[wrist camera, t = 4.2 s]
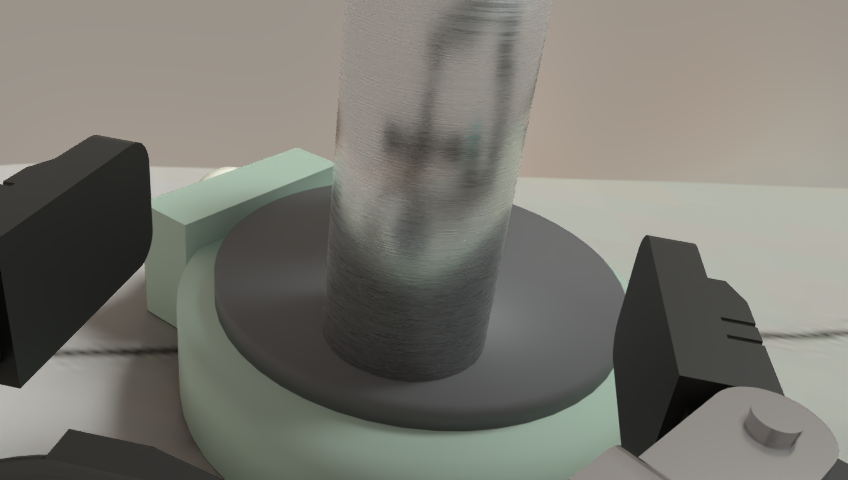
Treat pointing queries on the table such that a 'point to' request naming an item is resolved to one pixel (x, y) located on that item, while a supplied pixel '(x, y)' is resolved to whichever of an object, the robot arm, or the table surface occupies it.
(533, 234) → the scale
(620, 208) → the table surface
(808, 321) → the table surface
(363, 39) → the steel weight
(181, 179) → the table surface
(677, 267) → the robot arm
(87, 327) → the table surface
